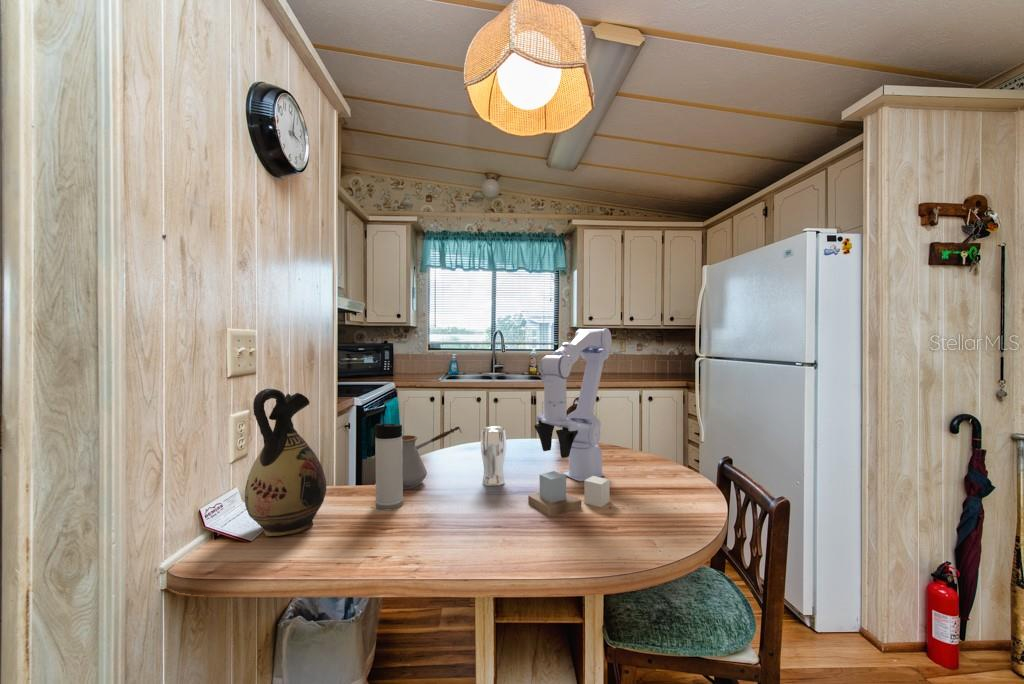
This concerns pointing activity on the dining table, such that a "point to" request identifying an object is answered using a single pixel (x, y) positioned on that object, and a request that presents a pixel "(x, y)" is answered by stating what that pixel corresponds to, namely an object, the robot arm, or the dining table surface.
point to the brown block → (554, 504)
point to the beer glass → (493, 454)
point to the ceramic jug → (283, 470)
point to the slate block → (552, 486)
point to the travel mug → (389, 466)
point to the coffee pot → (415, 459)
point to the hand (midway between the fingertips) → (555, 453)
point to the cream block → (596, 491)
